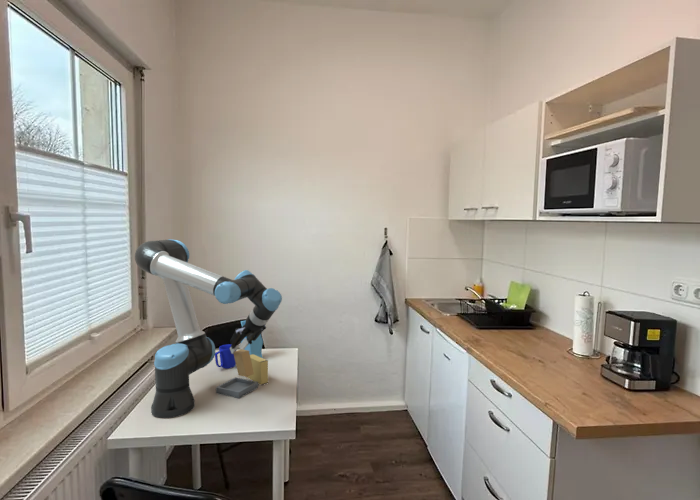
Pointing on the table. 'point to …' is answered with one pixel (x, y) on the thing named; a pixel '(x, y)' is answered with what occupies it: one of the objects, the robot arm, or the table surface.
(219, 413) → the table surface
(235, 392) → the tray
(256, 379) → the grey-ended yellow block
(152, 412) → the robot arm
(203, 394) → the table surface
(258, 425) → the table surface
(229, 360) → the mug
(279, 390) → the table surface
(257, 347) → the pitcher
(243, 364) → the stub
